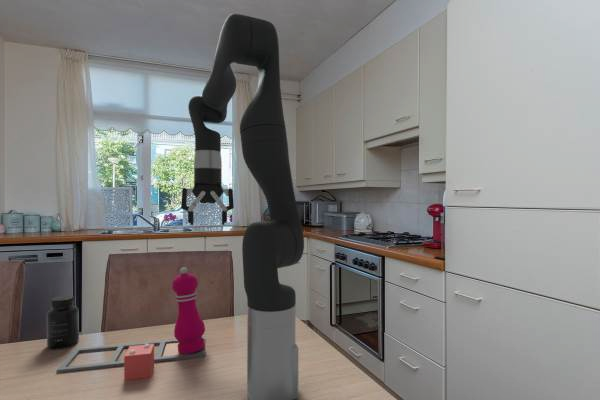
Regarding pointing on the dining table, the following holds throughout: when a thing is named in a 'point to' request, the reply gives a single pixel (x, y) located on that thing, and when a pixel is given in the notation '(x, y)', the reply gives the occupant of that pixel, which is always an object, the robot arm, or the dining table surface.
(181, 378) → the dining table surface
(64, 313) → the supplement bottle
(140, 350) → the die
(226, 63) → the robot arm
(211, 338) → the dining table surface
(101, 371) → the dining table surface
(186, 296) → the pepper mill
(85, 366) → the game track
